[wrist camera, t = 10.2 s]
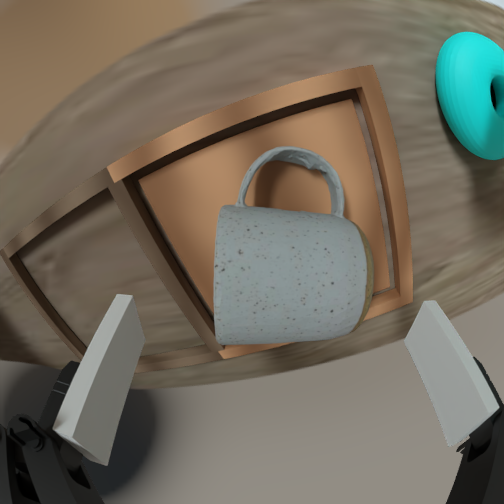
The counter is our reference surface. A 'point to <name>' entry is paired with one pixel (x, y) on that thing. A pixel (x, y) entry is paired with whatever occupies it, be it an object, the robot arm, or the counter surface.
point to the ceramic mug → (289, 266)
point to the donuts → (473, 92)
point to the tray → (247, 199)
